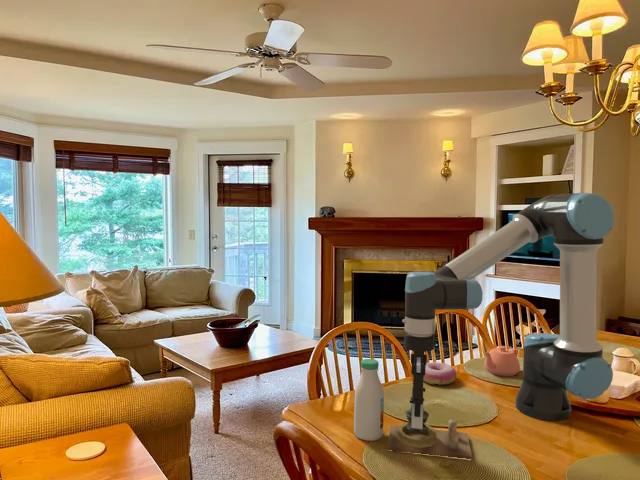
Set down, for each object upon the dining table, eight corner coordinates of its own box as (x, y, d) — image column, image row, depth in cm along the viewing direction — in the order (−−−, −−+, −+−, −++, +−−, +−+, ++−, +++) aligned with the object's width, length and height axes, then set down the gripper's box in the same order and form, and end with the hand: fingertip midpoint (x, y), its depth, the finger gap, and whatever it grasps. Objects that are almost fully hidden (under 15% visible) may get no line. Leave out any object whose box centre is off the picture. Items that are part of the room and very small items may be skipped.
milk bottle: (375, 444, 121) (376, 367, 119) (348, 436, 125) (349, 362, 123) (387, 432, 127) (389, 359, 126) (362, 425, 131) (363, 354, 130)
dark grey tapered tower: (428, 423, 124) (429, 378, 123) (428, 433, 118) (430, 386, 117) (405, 421, 125) (406, 376, 124) (404, 431, 119) (405, 384, 118)
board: (467, 437, 125) (467, 418, 124) (471, 461, 113) (472, 439, 113) (390, 429, 129) (391, 410, 129) (387, 451, 117) (387, 430, 117)
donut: (437, 371, 177) (437, 358, 177) (464, 382, 165) (465, 368, 165) (409, 377, 170) (410, 363, 170) (436, 389, 159) (437, 375, 158)
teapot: (530, 373, 176) (531, 347, 175) (497, 381, 167) (497, 354, 166) (502, 363, 186) (503, 339, 186) (470, 370, 177) (471, 346, 177)
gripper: (405, 323, 130) (403, 405, 131) (403, 342, 111) (400, 437, 113) (433, 325, 128) (431, 408, 130) (435, 344, 110) (432, 441, 111)
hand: (417, 421), depth 121 cm, fingers closed on dark grey tapered tower, 6 cm apart
